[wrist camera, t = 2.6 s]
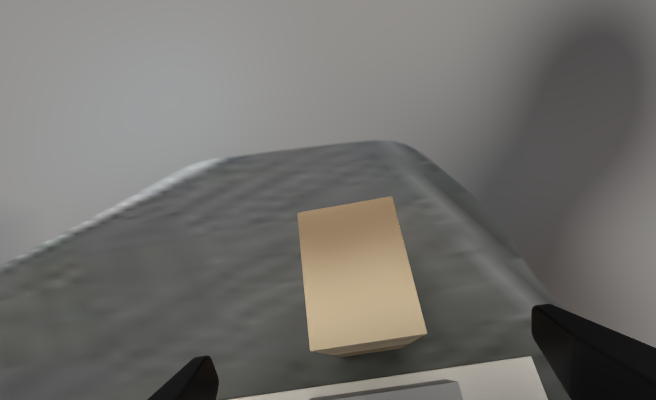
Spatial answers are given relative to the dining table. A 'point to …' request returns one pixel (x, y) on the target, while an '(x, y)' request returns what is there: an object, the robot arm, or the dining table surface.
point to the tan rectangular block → (357, 280)
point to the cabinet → (434, 385)
